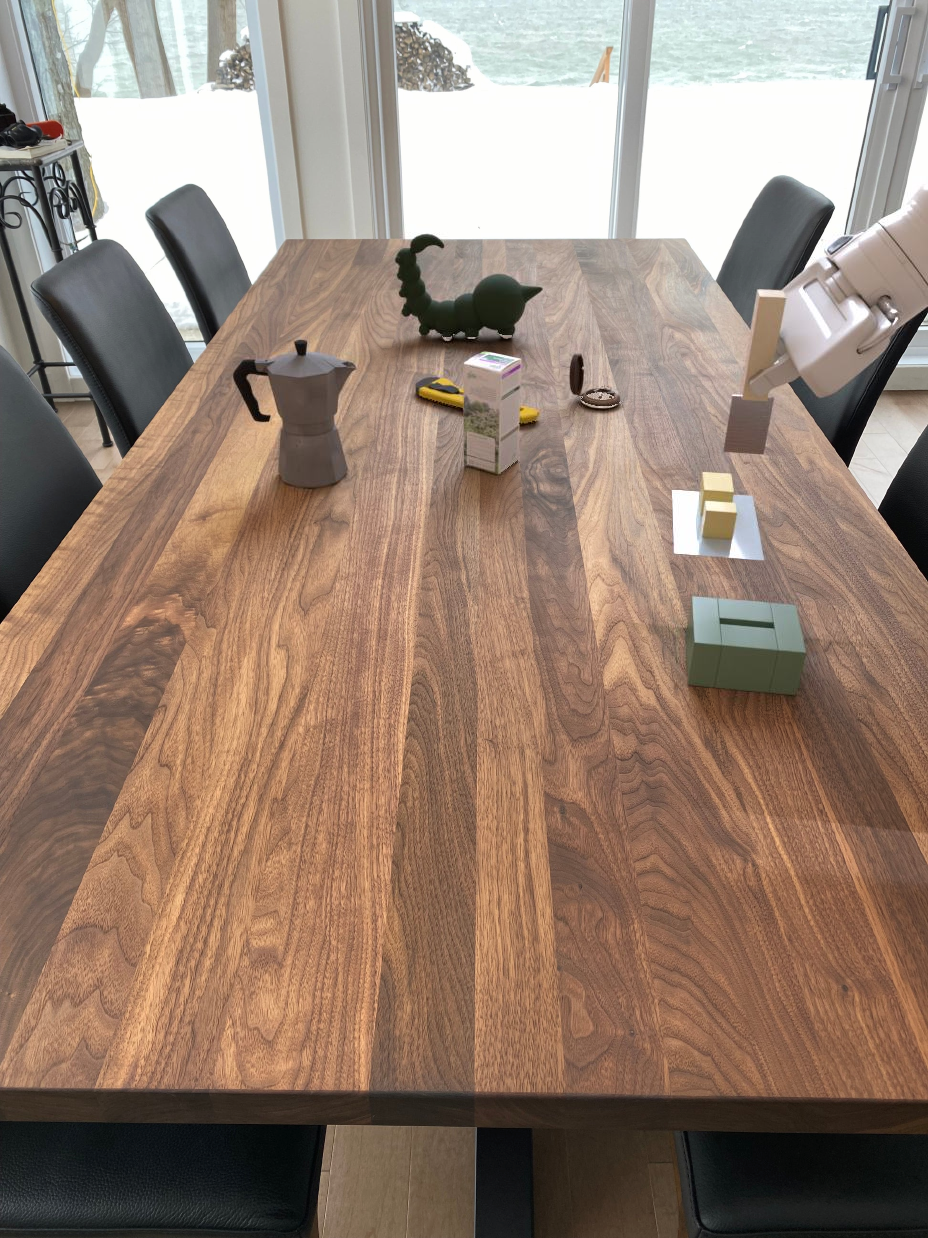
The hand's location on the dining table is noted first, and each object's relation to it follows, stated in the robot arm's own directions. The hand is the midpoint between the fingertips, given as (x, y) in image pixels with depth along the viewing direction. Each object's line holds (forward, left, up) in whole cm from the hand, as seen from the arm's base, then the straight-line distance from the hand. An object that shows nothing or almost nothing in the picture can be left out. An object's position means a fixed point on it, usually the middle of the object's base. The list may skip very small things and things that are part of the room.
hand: (749, 382), depth 95 cm
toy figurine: (+40, -76, -23) cm, 89 cm away
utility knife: (+34, -45, -23) cm, 61 cm away
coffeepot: (+53, -18, -23) cm, 60 cm away
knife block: (-1, +16, -23) cm, 28 cm away
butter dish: (0, -11, -23) cm, 25 cm away
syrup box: (+29, -25, -23) cm, 44 cm away
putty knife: (-1, 0, -7) cm, 7 cm away
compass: (+16, -50, -23) cm, 57 cm away
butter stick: (0, -15, -22) cm, 26 cm away
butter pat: (0, -9, -22) cm, 23 cm away
